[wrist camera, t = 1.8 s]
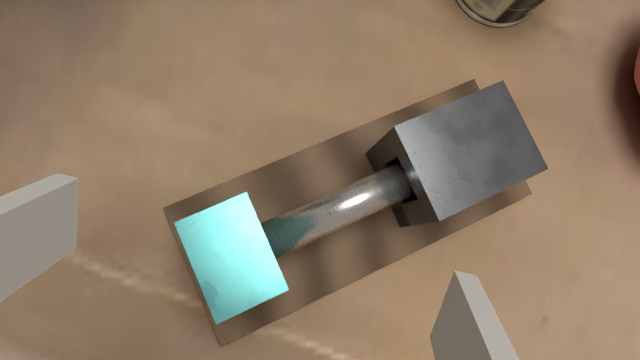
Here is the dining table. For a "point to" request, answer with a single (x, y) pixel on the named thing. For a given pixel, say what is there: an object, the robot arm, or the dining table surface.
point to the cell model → (637, 71)
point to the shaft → (273, 238)
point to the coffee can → (499, 10)
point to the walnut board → (344, 244)
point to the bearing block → (459, 155)
